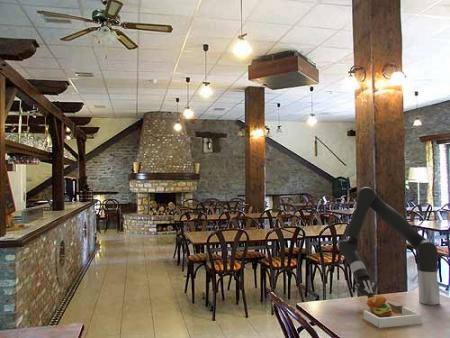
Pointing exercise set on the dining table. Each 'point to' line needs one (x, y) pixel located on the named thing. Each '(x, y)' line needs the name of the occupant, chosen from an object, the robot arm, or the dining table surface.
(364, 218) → the robot arm
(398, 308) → the cardboard carton
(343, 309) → the dining table surface
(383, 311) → the cheeseburger
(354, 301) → the dining table surface
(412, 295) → the dining table surface
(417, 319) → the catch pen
